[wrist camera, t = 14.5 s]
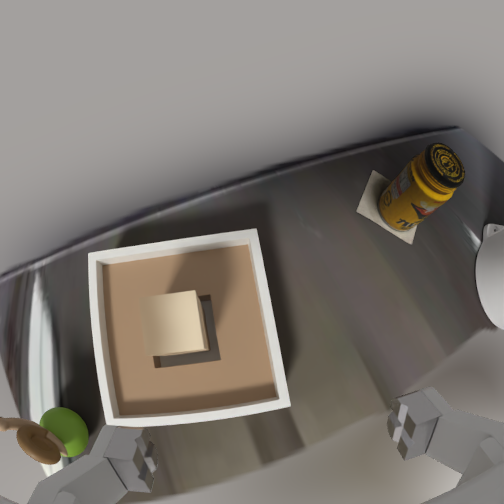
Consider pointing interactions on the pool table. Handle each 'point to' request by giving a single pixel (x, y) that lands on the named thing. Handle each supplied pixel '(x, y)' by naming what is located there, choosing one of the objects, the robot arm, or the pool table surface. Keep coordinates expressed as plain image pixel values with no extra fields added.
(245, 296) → the open box
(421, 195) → the condiment
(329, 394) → the pool table surface
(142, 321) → the beech peg
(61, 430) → the snail figurine
